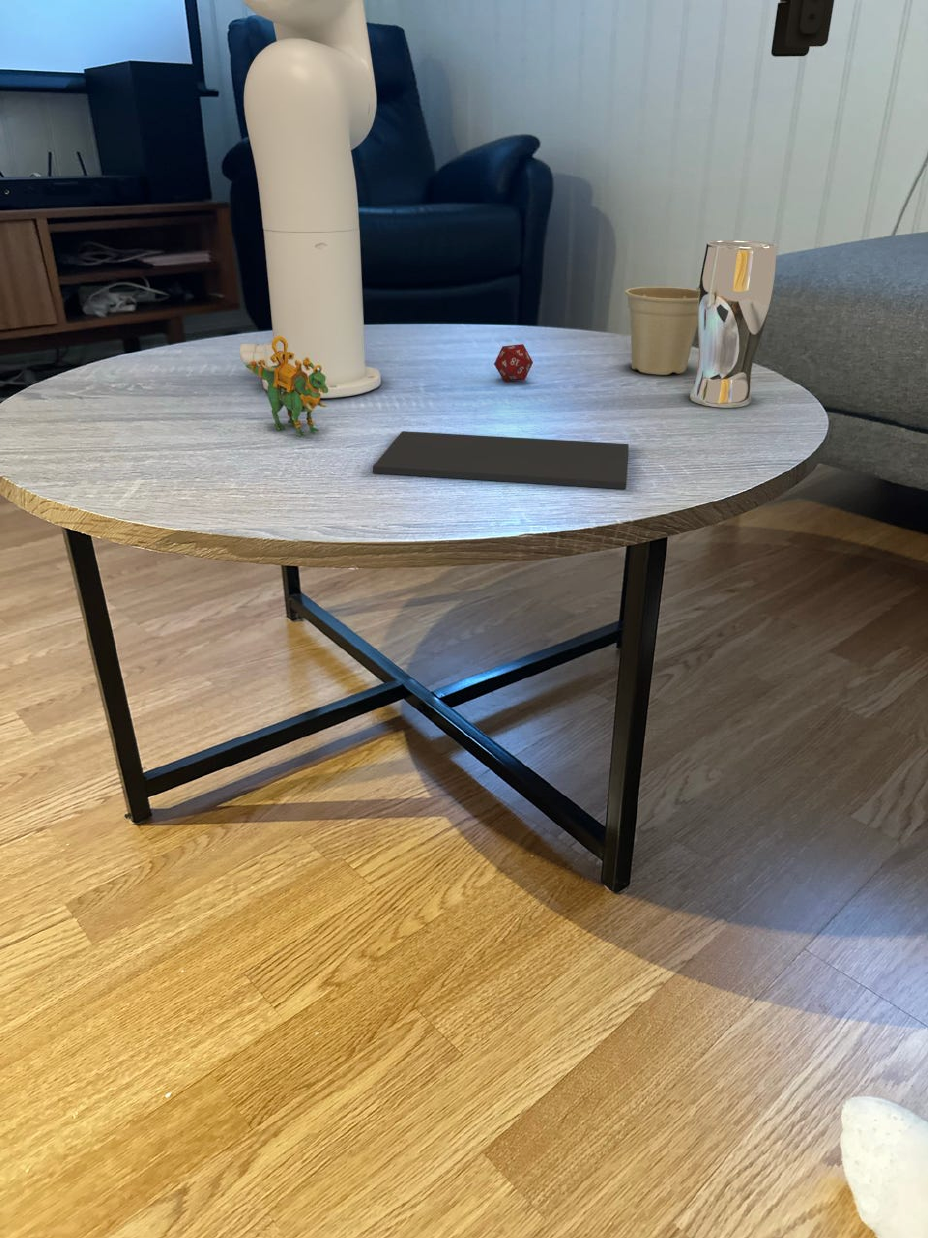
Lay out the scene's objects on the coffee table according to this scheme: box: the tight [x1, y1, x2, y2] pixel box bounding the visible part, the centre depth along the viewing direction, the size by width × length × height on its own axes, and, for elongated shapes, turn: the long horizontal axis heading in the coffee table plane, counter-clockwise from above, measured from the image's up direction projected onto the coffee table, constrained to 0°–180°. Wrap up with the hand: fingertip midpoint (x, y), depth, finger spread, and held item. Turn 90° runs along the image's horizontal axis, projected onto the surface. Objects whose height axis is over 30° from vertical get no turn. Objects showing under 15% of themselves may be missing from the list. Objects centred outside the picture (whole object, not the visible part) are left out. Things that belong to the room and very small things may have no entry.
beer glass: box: [689, 239, 778, 409], centre depth 90 cm, size 7×7×15 cm
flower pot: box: [624, 286, 699, 376], centre depth 103 cm, size 9×9×9 cm
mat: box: [372, 430, 630, 490], centre depth 75 cm, size 20×10×1 cm, turn 80°
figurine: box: [244, 336, 329, 437], centre depth 82 cm, size 3×12×8 cm, turn 46°
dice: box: [493, 343, 534, 383], centre depth 99 cm, size 4×4×4 cm
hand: (797, 51), depth 77 cm, fingers open, 9 cm apart
